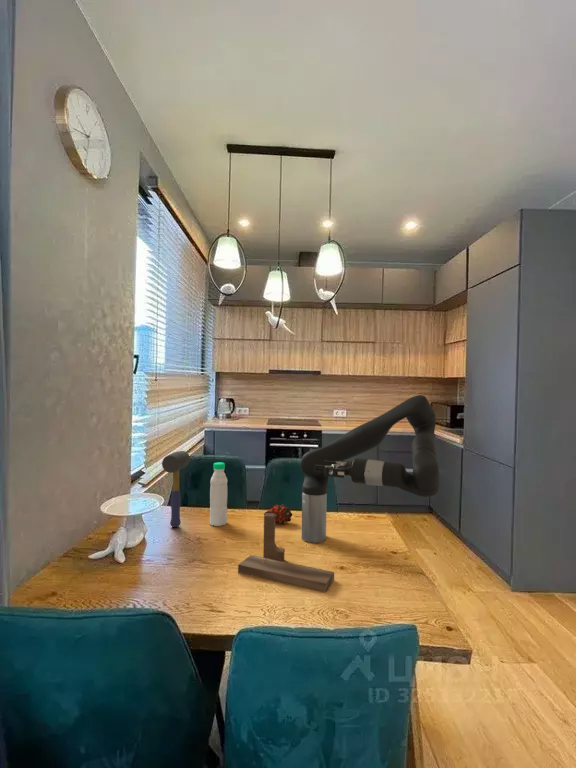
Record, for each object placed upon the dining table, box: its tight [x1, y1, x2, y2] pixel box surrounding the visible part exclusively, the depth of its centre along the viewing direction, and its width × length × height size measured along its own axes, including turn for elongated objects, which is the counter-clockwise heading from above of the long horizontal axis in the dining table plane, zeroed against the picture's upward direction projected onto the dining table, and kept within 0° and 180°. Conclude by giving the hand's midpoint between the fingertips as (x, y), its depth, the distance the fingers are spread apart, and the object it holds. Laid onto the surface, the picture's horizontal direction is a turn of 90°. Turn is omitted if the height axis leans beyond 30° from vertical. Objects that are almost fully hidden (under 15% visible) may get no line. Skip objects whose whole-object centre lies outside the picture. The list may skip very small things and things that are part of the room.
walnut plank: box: [237, 554, 335, 593], centre depth 124 cm, size 8×28×3 cm, turn 66°
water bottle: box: [209, 461, 228, 527], centre depth 170 cm, size 7×7×25 cm
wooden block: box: [262, 513, 285, 562], centre depth 135 cm, size 7×3×15 cm, turn 84°
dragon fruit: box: [263, 503, 293, 526], centre depth 172 cm, size 8×8×12 cm
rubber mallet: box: [161, 450, 191, 528], centre depth 165 cm, size 12×8×30 cm, turn 170°
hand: (318, 466), depth 131 cm, fingers open, 8 cm apart
